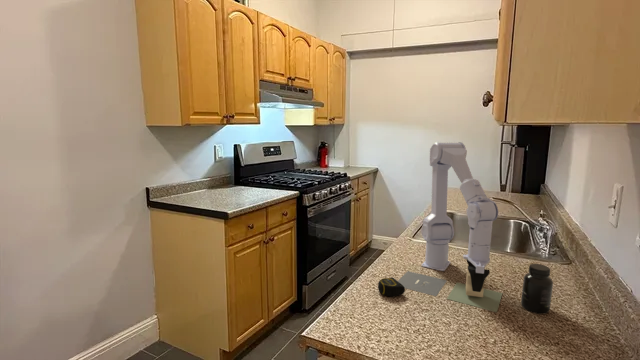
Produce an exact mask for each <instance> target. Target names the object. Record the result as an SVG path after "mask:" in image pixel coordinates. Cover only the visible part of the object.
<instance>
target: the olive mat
mask: <svg viewBox="0 0 640 360" xmlns="http://www.w3.org/2000/svg"><path fill="white" fill-rule="evenodd" d="M502 297H503V292H499V291H495V290H491V289H487V288H484V291H483V297H476V296H470V295H466V283H462V282H458V281H456V283H455V285H454V286H453V288H452V290H451V291H450V293H449V294H448V296H447V298H446V300H449V301H451V302H452V301H453V302H457V303H460V304H465V305H468V306H471V307H476V308H479V309H483V310H486V311H488V312H489V311H490V312H493V313H498V309H499V307H500V303H501V299H502Z"/></svg>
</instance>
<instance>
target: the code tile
mask: <svg viewBox="0 0 640 360" xmlns="http://www.w3.org/2000/svg"><path fill="white" fill-rule="evenodd" d="M397 281H398V282H399V283H401V284H402V285H403V286H404V287H405V290H412V291H415V292H418V293H423V294H425V295H430V296H433V297H437V296H438V295H439V294H440V292H441V290H442V288H443V287H444V286H445V284H446V283H447V279H443V278H440V277H435V276H430V275H426V274H422V273H418V272H414V271H410V270H407V271H406V272H405V273H404V274H403V275H402V276H401V277H400V278H399V279H398V280H397Z"/></svg>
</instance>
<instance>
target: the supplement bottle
mask: <svg viewBox="0 0 640 360" xmlns="http://www.w3.org/2000/svg"><path fill="white" fill-rule="evenodd" d="M528 267H529V268H528V272H527V273H526V274H524V276H523V282H522V289H521V290H522V291H521V302H520V304H521V306H522V308H524V309H525V310H526V311H528V312H530V313H533V314H537V315H538V314H539V315H545V314H548V313H549V312H550V308H551V305H552V304H551V303H552V295H553V287H554V281H553V279H552V278H551V277H550V276H551V268H550V267H548V266H547V265H544V264H541V263H531V264H529V266H528Z"/></svg>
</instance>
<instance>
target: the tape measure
mask: <svg viewBox="0 0 640 360" xmlns="http://www.w3.org/2000/svg"><path fill="white" fill-rule="evenodd" d="M377 290H378V292H379V293H380V294H382V295H383V296H387V297H397V296H400V295H403V294H405V293H406V288H405V287H404V286H403V285H402V284H401V283H399V282H398V280H397V279H396V278H395V277H389V278H388V277H384V278H381V279H379V281H378V283H377Z"/></svg>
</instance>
